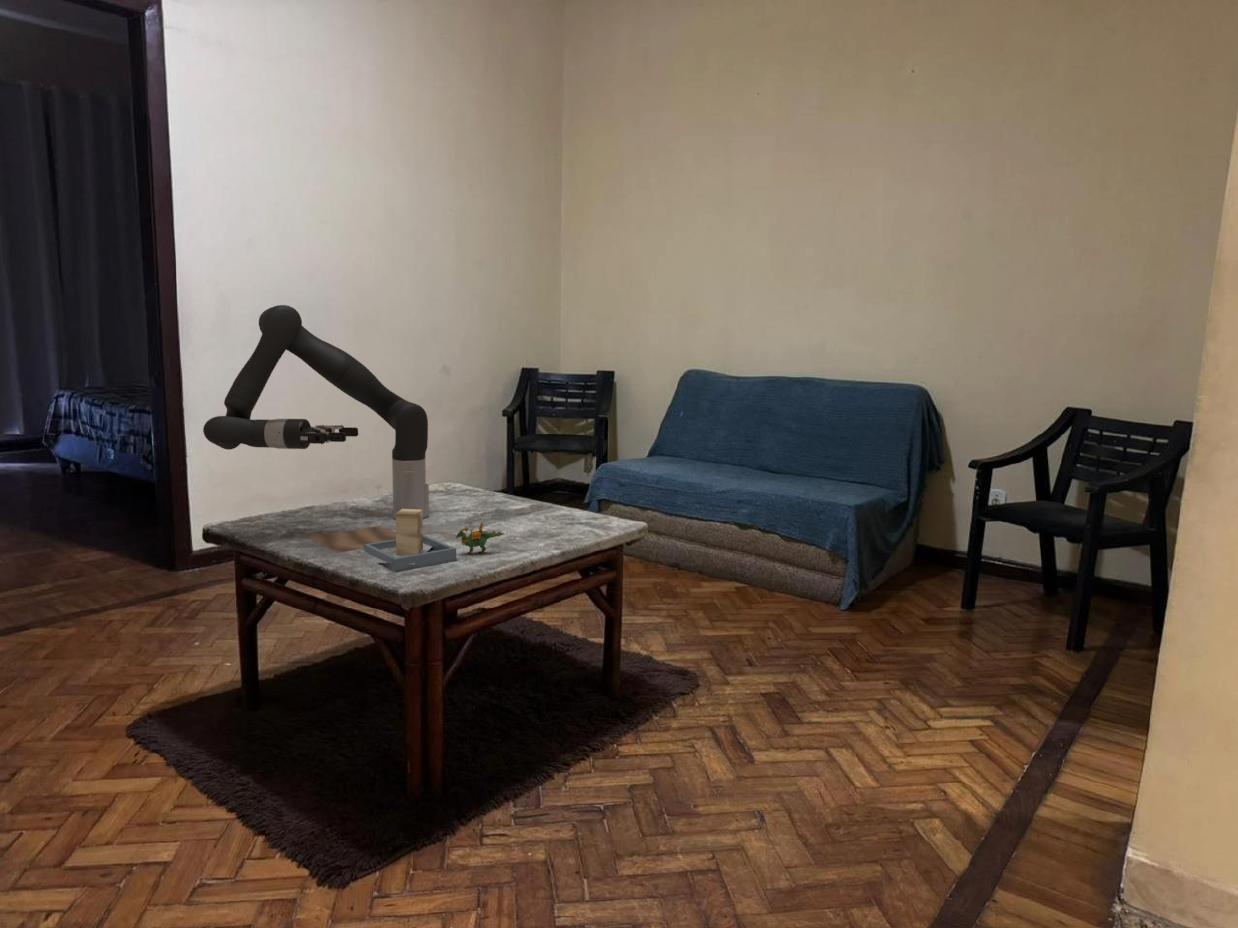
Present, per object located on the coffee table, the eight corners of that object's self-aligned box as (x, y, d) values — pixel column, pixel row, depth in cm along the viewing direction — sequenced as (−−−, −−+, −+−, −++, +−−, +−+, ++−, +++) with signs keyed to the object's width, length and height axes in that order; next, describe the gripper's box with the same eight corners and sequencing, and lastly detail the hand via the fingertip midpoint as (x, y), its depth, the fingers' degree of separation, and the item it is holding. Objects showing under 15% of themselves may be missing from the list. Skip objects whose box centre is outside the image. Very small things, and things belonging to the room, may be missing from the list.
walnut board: (380, 531, 235) (380, 525, 235) (412, 545, 222) (412, 539, 221) (307, 542, 222) (307, 536, 222) (336, 558, 209) (336, 552, 208)
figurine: (455, 553, 216) (455, 521, 215) (503, 550, 220) (503, 518, 218) (456, 556, 213) (456, 524, 212) (505, 553, 217) (505, 521, 215)
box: (423, 546, 222) (423, 534, 221) (456, 560, 210) (456, 548, 209) (364, 556, 211) (363, 544, 211) (395, 572, 199) (395, 559, 199)
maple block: (402, 552, 213) (402, 508, 211) (423, 553, 213) (422, 509, 211) (396, 558, 208) (395, 513, 206) (417, 559, 208) (416, 514, 206)
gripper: (274, 422, 211) (340, 423, 210) (298, 415, 224) (360, 415, 224) (276, 453, 212) (342, 454, 211) (300, 444, 226) (362, 444, 225)
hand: (351, 434), depth 217 cm, fingers open, 8 cm apart
